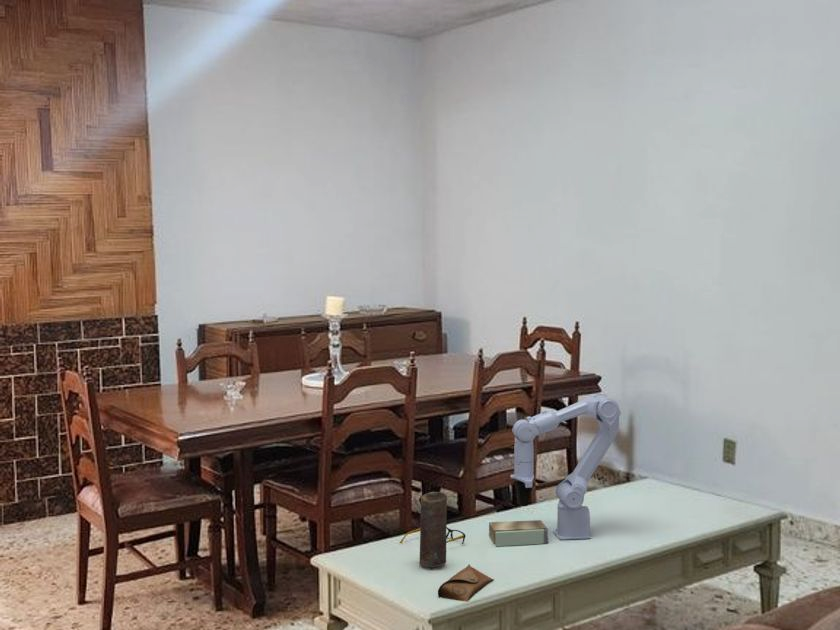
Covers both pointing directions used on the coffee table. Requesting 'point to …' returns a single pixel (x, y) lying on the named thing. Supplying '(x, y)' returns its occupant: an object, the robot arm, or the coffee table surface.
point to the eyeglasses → (446, 535)
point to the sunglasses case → (464, 584)
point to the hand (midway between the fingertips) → (523, 505)
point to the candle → (433, 529)
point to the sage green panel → (521, 537)
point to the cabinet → (514, 526)
